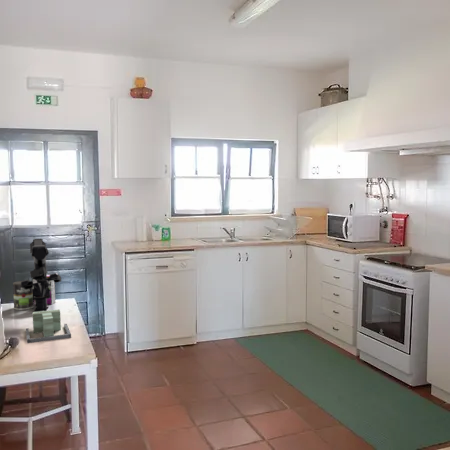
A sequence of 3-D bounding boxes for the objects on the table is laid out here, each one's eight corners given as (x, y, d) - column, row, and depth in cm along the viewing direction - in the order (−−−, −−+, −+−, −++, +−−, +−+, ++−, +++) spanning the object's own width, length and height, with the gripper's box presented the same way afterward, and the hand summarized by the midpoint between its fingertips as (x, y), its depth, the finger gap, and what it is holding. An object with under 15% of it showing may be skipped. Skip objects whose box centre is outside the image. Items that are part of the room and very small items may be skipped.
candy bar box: (33, 304, 284) (31, 275, 282) (37, 302, 289) (35, 274, 287) (52, 304, 283) (50, 276, 281) (55, 302, 288) (54, 274, 286)
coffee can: (34, 308, 275) (33, 283, 274) (14, 310, 271) (12, 285, 269) (33, 304, 284) (32, 279, 283) (13, 306, 280) (12, 281, 279)
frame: (25, 331, 235) (25, 328, 235) (66, 326, 242) (66, 323, 242) (27, 343, 219) (27, 340, 219) (71, 337, 226) (71, 334, 226)
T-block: (33, 330, 236) (32, 312, 235) (60, 327, 241) (59, 309, 240) (34, 339, 223) (33, 320, 222) (63, 336, 228) (62, 316, 227)
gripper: (15, 267, 249) (16, 296, 242) (52, 258, 249) (54, 287, 243) (24, 274, 259) (26, 303, 252) (60, 266, 259) (62, 294, 253)
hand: (42, 297), depth 249 cm, fingers closed
